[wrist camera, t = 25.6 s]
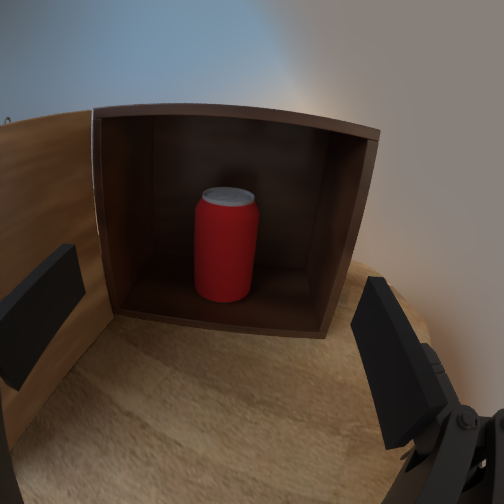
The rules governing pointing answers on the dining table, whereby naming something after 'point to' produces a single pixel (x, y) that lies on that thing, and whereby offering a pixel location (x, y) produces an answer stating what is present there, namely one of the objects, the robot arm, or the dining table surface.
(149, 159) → the cabinet
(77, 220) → the cabinet door
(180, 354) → the dining table surface
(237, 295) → the beverage can
